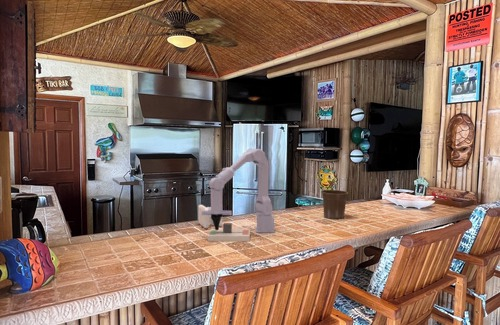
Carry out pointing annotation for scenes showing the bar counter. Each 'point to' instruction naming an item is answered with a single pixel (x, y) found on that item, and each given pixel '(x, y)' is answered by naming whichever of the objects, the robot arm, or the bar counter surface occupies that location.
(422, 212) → the bar counter surface
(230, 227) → the knob
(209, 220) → the cable organizer
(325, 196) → the plant pot
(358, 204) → the bar counter surface
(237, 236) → the switch plate
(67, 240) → the bar counter surface
